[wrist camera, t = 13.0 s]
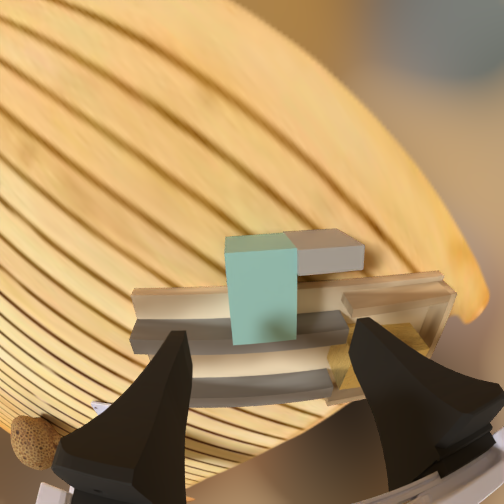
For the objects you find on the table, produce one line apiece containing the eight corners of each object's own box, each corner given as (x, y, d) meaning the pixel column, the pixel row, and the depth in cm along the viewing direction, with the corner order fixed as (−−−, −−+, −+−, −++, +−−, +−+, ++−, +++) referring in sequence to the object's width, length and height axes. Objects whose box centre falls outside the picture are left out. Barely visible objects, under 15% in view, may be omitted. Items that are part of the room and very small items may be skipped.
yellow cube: (395, 353, 25) (411, 379, 22) (363, 356, 25) (377, 386, 21) (409, 322, 24) (429, 348, 20) (376, 325, 23) (395, 354, 20)
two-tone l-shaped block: (336, 228, 20) (333, 303, 22) (225, 235, 20) (232, 312, 21) (364, 245, 16) (356, 333, 17) (224, 255, 15) (233, 348, 17)
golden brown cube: (364, 354, 25) (379, 384, 21) (326, 357, 24) (339, 389, 21) (377, 322, 23) (396, 351, 19) (337, 324, 23) (354, 356, 19)
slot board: (402, 367, 28) (415, 387, 25) (165, 392, 26) (161, 418, 23) (438, 270, 23) (459, 289, 20) (134, 288, 21) (121, 314, 18)
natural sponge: (12, 397, 28) (-10, 441, 19) (45, 403, 28) (24, 456, 19) (42, 429, 31) (27, 471, 22) (76, 436, 32) (63, 484, 22)
